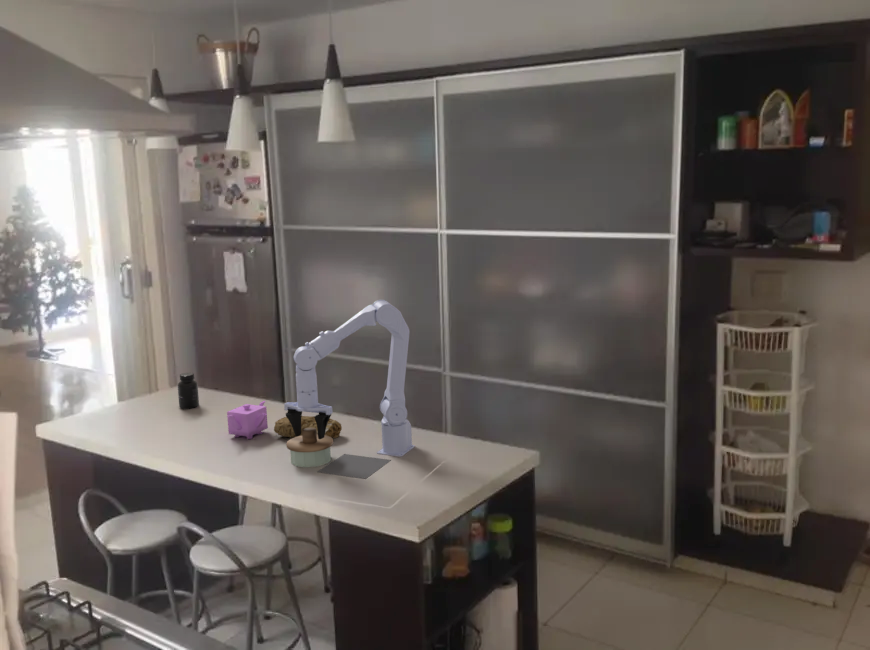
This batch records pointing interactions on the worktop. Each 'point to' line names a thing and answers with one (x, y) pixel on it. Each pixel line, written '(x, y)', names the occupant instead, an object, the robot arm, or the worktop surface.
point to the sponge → (286, 429)
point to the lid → (309, 442)
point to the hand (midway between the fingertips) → (309, 436)
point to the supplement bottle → (188, 391)
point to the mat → (354, 466)
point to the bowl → (310, 458)
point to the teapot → (247, 420)
